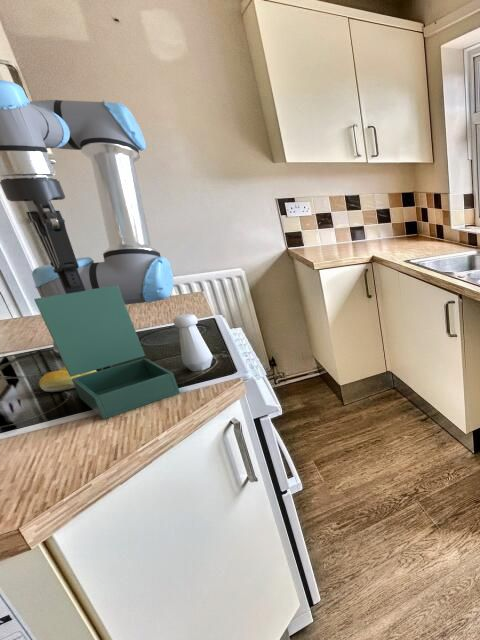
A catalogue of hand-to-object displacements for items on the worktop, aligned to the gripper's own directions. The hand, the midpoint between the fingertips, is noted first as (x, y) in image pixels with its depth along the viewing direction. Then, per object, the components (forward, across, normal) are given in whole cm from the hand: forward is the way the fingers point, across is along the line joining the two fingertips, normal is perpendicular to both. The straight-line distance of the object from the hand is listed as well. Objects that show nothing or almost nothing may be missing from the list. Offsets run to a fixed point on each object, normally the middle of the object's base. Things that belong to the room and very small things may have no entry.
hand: (80, 302), depth 85 cm
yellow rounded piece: (+19, +9, +5) cm, 22 cm away
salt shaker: (+19, -6, -14) cm, 24 cm away
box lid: (+6, -2, 0) cm, 6 cm away
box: (+19, -10, 0) cm, 21 cm away
